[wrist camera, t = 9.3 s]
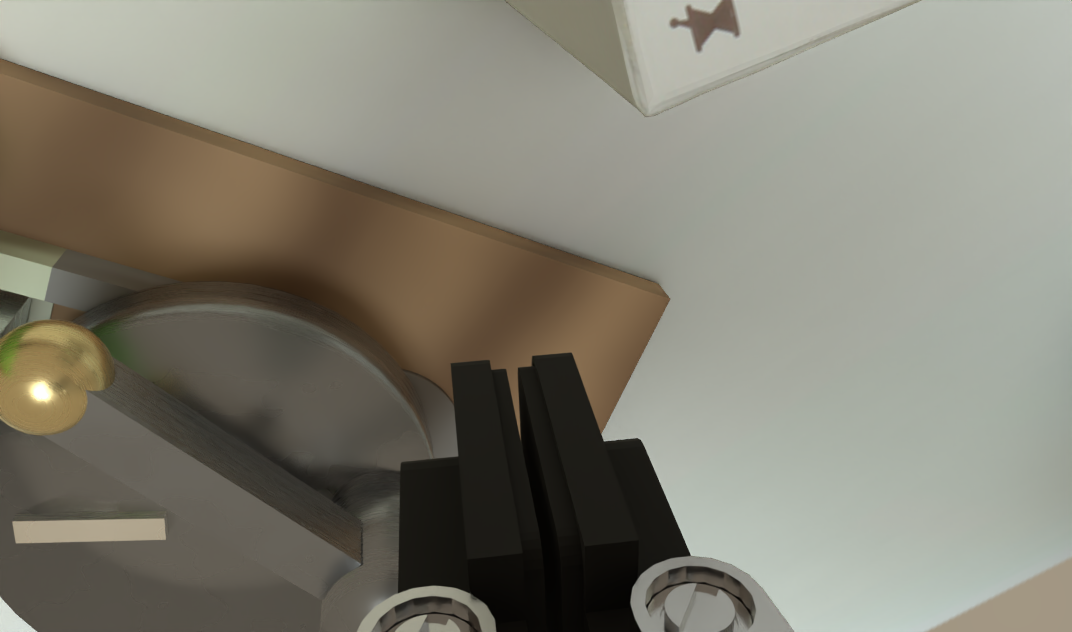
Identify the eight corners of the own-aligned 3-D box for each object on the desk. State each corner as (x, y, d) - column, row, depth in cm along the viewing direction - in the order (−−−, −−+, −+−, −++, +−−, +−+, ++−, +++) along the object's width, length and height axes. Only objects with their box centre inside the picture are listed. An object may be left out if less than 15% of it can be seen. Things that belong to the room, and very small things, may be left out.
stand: (658, 284, 29) (708, 349, 25) (489, 619, 34) (507, 719, 30) (-150, 7, 21) (-268, 36, 17) (-210, 491, 26) (-312, 600, 22)
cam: (449, 237, 25) (484, 368, 18) (420, 595, 30) (438, 797, 24) (-27, 215, 22) (-193, 357, 15) (36, 610, 28) (-67, 842, 21)
